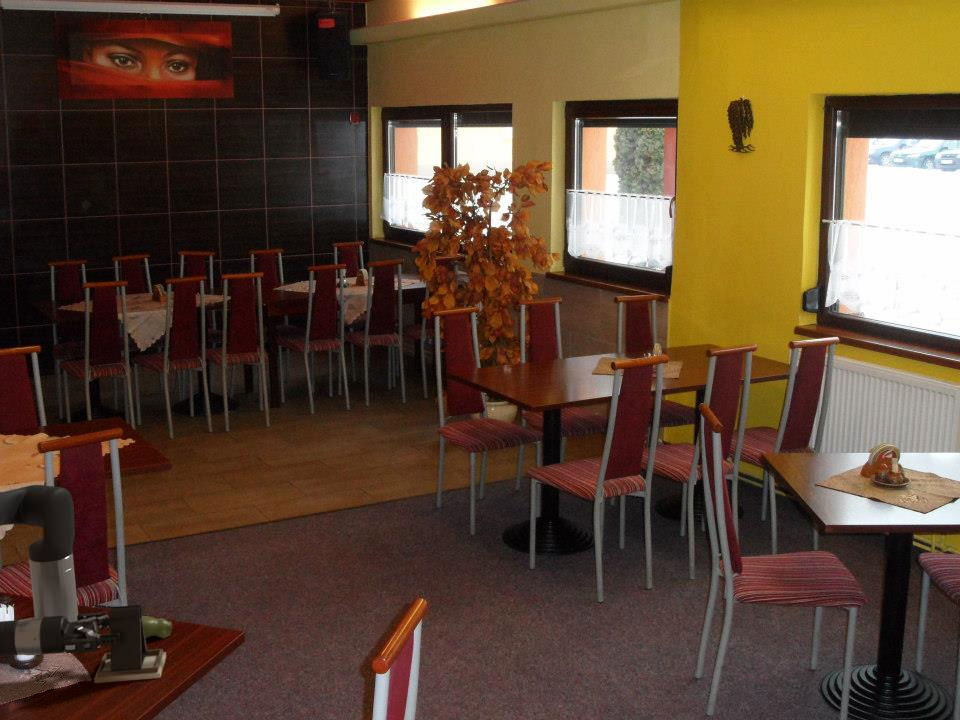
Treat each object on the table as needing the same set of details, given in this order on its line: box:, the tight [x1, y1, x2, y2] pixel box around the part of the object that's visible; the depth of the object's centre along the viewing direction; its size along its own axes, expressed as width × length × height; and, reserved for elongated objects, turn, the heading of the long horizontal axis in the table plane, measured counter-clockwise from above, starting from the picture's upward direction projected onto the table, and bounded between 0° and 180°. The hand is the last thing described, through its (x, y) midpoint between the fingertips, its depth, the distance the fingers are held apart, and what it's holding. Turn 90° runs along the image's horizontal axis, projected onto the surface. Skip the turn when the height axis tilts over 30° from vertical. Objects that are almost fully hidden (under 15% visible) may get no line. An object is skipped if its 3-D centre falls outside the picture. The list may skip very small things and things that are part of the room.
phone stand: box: [108, 604, 148, 671], centre depth 234 cm, size 9×6×12 cm, turn 8°
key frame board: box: [93, 648, 167, 684], centre depth 236 cm, size 10×13×2 cm
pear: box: [142, 615, 173, 640], centre depth 251 cm, size 6×5×10 cm
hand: (123, 629), depth 234 cm, fingers open, 8 cm apart
